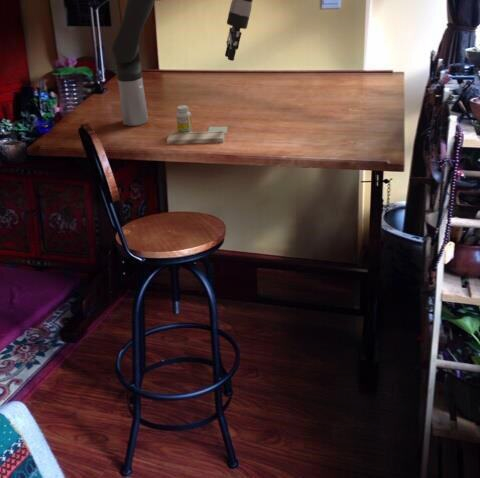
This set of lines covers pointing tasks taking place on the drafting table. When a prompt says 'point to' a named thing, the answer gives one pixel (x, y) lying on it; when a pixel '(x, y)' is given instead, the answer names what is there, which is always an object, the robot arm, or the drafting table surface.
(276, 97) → the drafting table surface
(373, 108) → the drafting table surface
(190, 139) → the birch board
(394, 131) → the drafting table surface
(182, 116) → the supplement bottle
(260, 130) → the drafting table surface
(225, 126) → the end pad
